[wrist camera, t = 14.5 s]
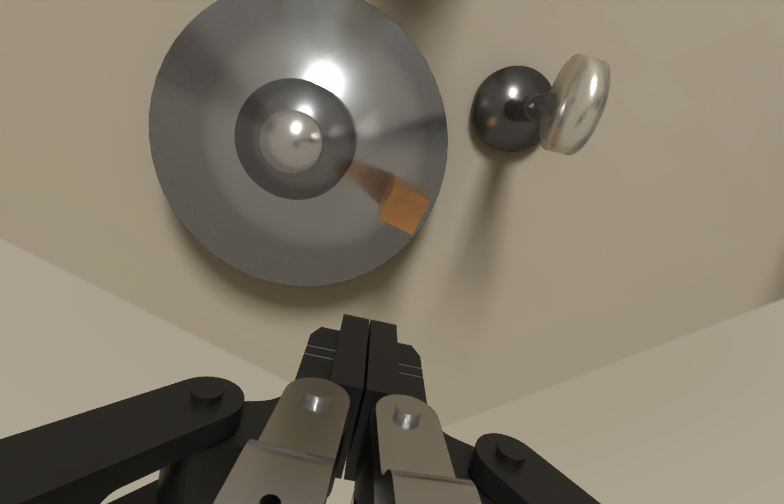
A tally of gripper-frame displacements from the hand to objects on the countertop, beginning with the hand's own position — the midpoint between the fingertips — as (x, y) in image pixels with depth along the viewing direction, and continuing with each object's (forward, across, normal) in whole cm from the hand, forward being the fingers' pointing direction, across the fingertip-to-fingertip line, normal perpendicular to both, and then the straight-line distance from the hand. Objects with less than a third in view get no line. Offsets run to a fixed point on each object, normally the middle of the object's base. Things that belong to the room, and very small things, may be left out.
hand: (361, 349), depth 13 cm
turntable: (+18, +5, -4) cm, 19 cm away
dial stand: (+19, -7, -8) cm, 22 cm away
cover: (+16, +5, -4) cm, 17 cm away
